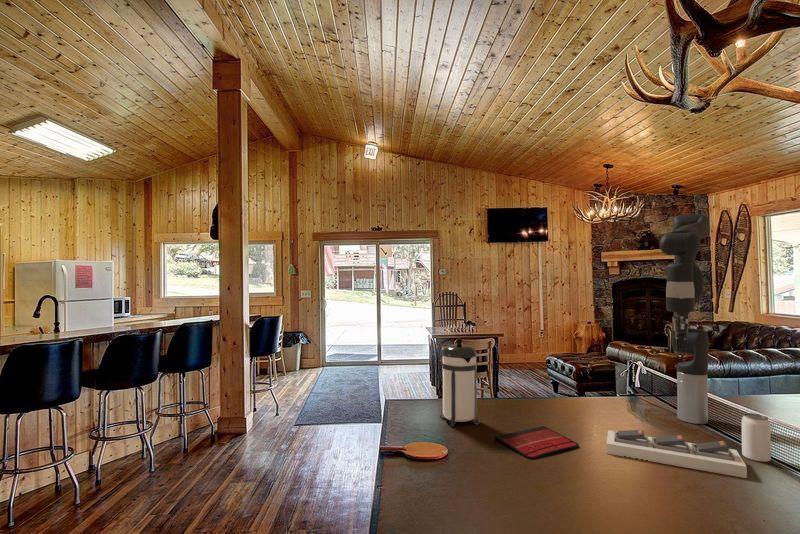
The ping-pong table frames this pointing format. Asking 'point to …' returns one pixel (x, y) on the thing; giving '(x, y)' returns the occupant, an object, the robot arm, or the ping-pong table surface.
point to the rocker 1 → (631, 434)
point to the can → (756, 437)
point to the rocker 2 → (670, 440)
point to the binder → (536, 442)
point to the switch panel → (677, 455)
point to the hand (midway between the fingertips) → (680, 351)
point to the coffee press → (459, 383)
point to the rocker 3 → (712, 447)
